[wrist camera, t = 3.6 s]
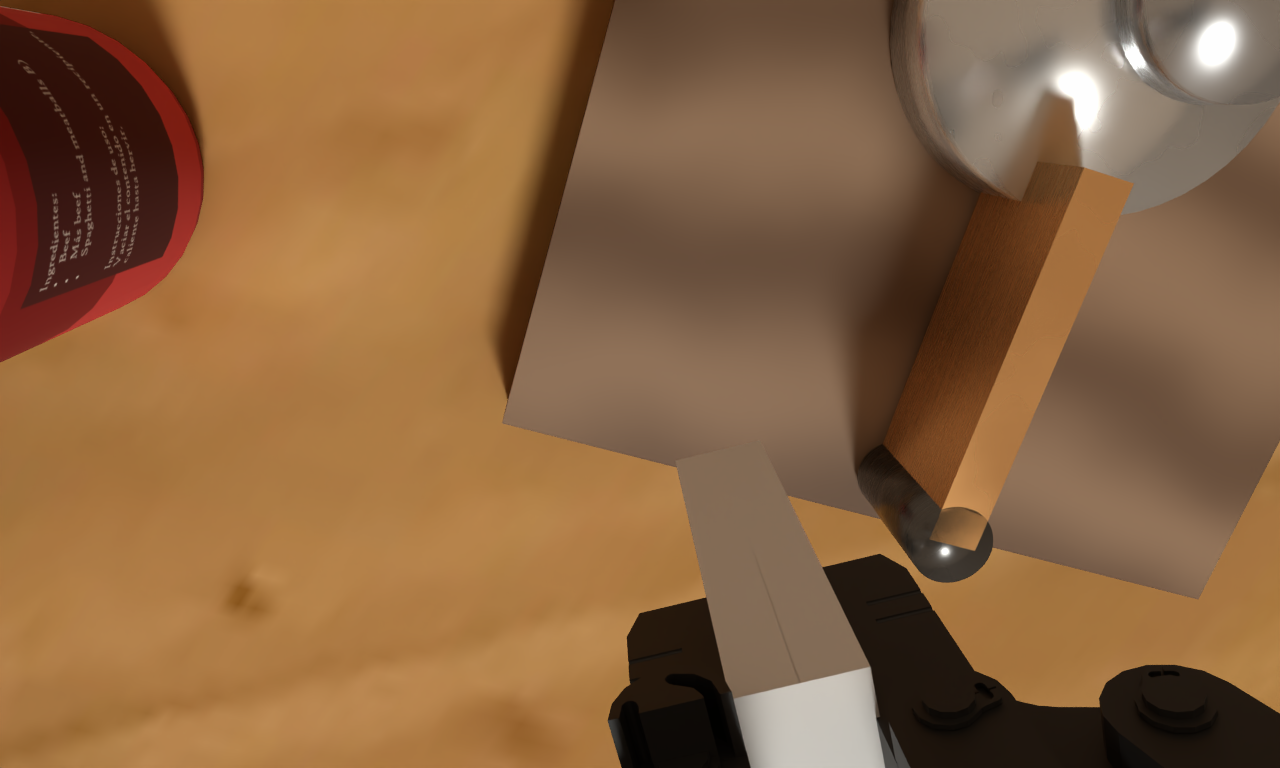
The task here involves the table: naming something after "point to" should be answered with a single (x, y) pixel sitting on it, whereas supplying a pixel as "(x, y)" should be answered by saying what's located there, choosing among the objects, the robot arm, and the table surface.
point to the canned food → (85, 177)
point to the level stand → (883, 293)
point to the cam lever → (1042, 211)
